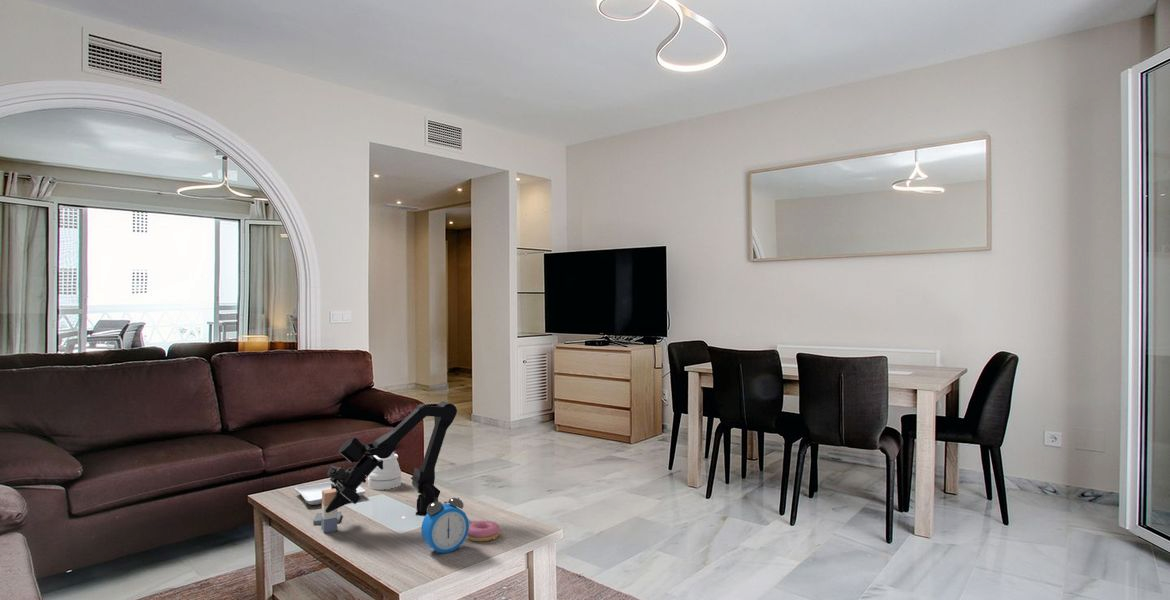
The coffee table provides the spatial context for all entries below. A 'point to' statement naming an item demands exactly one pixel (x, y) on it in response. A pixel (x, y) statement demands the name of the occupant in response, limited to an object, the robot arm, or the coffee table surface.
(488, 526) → the doughnut
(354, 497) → the robot arm
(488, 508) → the coffee table surface
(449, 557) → the coffee table surface
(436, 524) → the alarm clock
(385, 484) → the honey pot
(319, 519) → the baseplate
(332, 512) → the brick stack
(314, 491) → the salad plate
